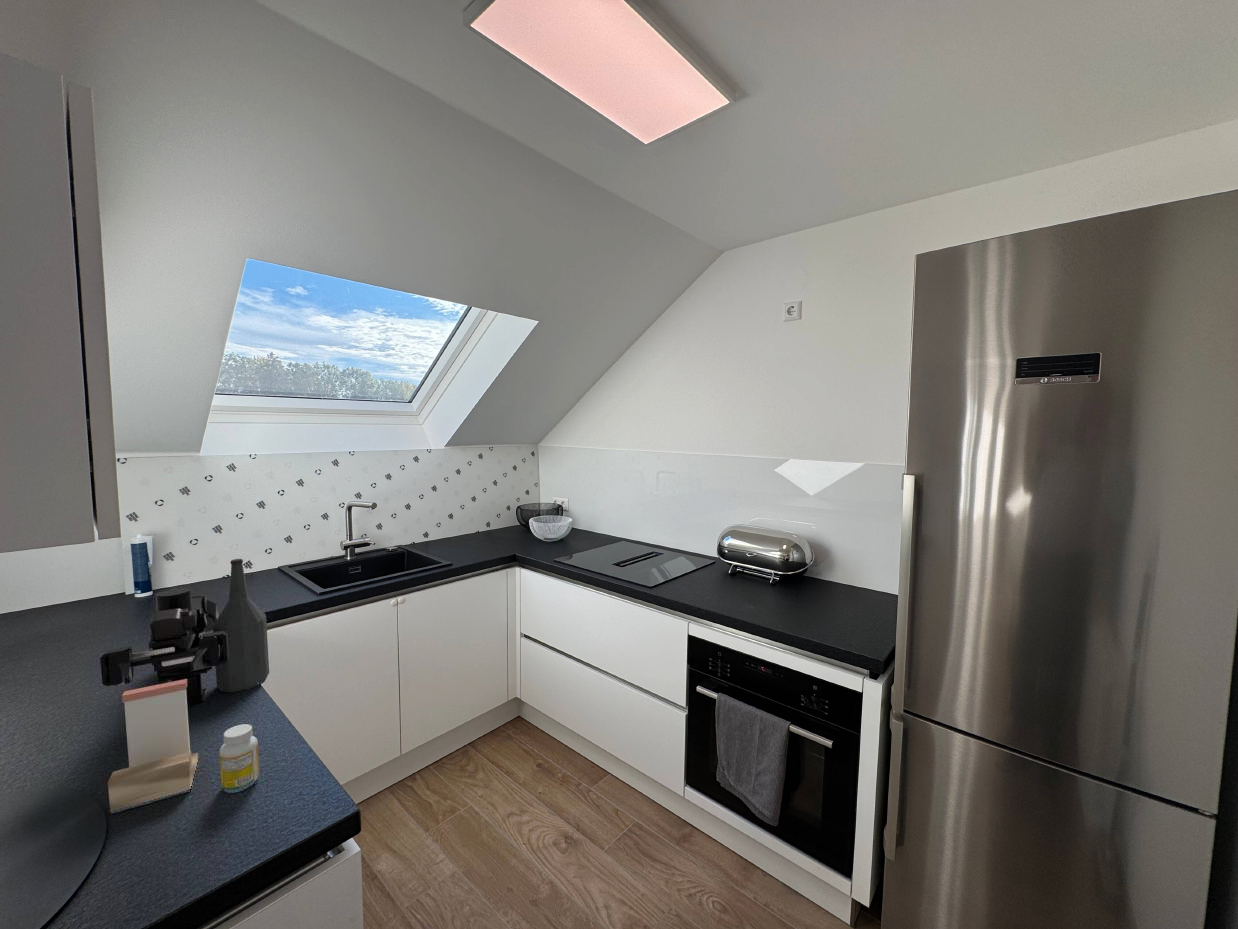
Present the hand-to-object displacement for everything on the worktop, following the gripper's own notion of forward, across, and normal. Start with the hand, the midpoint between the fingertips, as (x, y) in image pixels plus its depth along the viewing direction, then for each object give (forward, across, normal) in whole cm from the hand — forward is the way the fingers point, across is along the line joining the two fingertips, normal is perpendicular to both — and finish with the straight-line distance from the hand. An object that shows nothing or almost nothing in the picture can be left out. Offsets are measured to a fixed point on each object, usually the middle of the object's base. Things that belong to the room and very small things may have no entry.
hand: (159, 674), depth 97 cm
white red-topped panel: (+4, 0, +15) cm, 15 cm away
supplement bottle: (+15, +12, +17) cm, 25 cm away
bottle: (-28, +10, +17) cm, 35 cm away
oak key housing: (+8, 0, +16) cm, 18 cm away
